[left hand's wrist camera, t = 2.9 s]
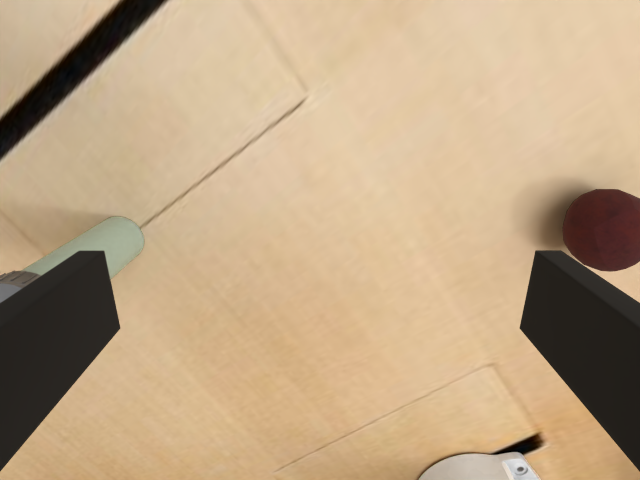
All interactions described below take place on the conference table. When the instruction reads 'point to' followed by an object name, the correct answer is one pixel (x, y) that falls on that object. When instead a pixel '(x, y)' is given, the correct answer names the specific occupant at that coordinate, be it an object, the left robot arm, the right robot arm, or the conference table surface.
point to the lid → (15, 282)
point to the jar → (99, 246)
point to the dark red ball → (604, 229)
